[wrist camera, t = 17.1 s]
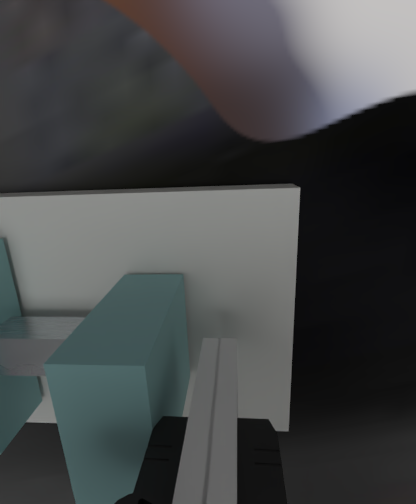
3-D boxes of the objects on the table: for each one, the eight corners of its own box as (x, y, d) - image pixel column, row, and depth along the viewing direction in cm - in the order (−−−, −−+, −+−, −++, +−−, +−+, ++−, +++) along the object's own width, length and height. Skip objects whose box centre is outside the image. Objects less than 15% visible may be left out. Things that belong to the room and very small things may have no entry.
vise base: (292, 183, 16) (320, 198, 11) (283, 405, 20) (300, 493, 15) (-155, 198, 18) (-312, 216, 13) (-79, 394, 22) (-175, 468, 17)
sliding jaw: (180, 234, 15) (137, 301, 8) (192, 405, 18) (167, 555, 11) (-53, 239, 16) (-260, 301, 9) (-5, 399, 19) (-135, 533, 12)
